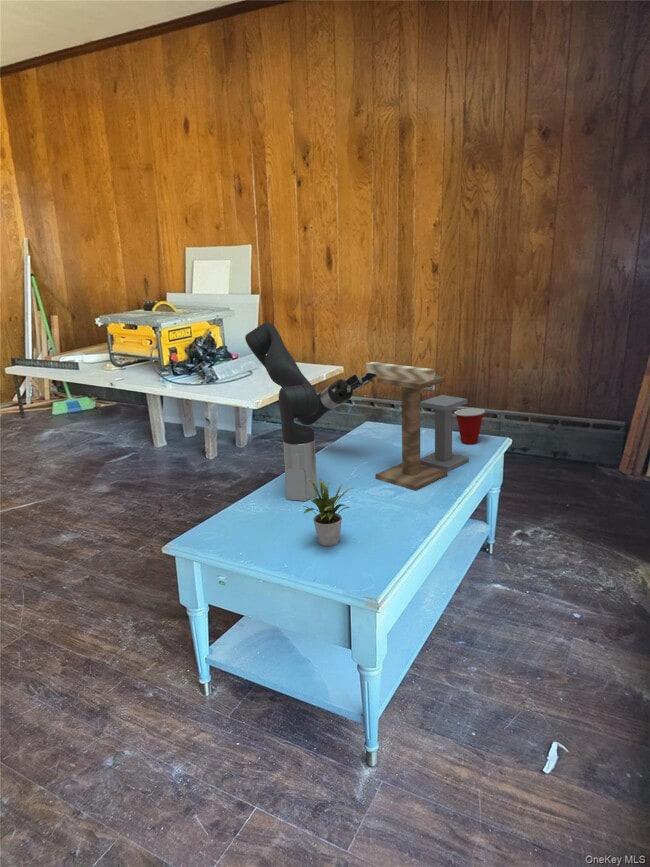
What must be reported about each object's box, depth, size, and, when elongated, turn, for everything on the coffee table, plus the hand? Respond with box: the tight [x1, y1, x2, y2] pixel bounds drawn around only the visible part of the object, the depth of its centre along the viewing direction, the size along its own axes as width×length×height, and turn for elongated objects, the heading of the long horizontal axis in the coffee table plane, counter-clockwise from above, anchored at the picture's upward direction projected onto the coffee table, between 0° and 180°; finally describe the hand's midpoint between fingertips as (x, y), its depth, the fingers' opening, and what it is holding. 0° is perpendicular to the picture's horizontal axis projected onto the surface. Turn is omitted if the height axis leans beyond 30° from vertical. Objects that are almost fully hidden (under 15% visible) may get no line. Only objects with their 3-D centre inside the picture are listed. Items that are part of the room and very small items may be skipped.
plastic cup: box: [454, 408, 486, 445], centre depth 218 cm, size 11×11×12 cm
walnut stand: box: [375, 375, 449, 492], centre depth 184 cm, size 16×16×32 cm
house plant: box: [303, 478, 354, 547], centre depth 147 cm, size 14×14×16 cm
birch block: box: [365, 361, 435, 381], centre depth 182 cm, size 24×3×3 cm, turn 44°
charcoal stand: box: [420, 394, 470, 472], centre depth 196 cm, size 12×12×22 cm
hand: (365, 375), depth 192 cm, fingers open, 8 cm apart
